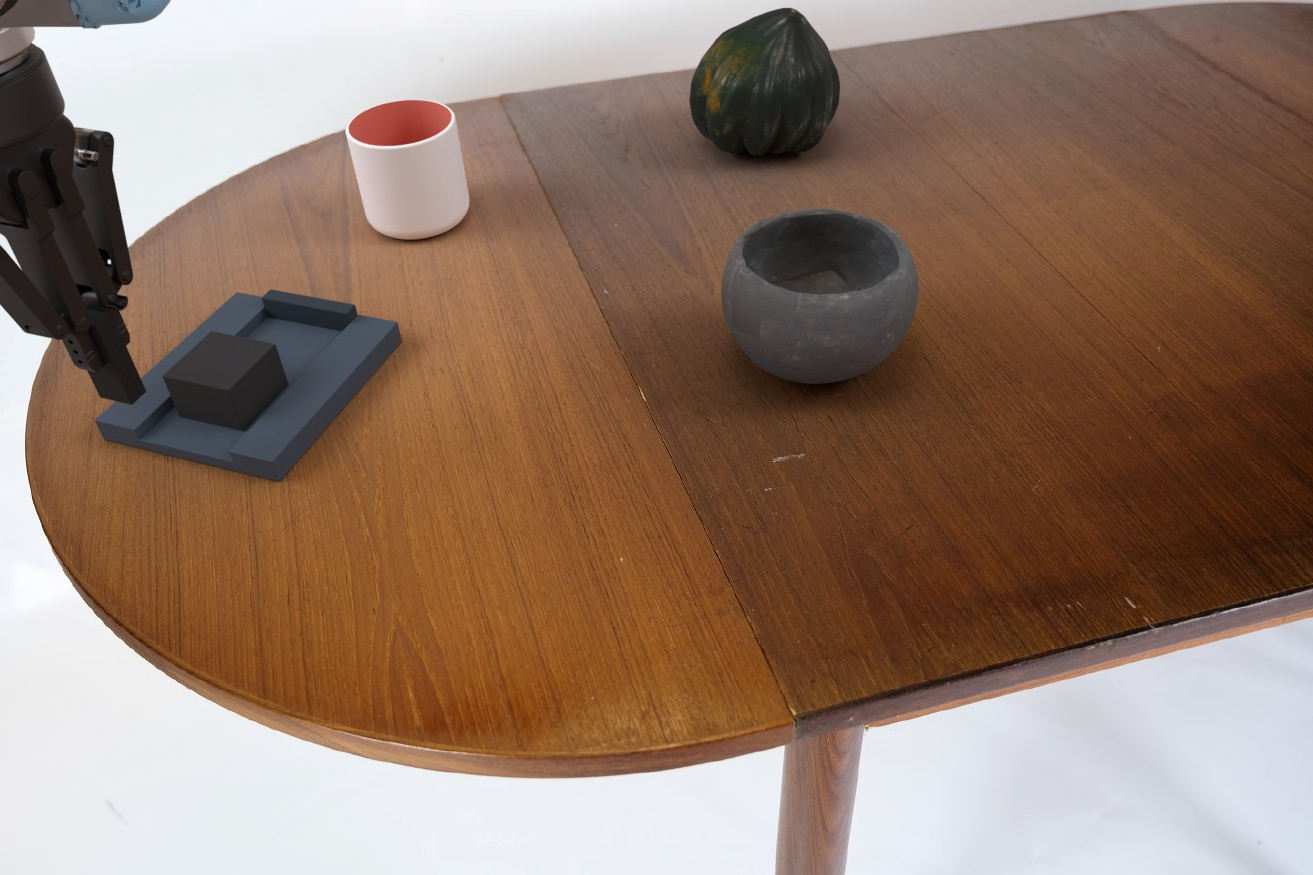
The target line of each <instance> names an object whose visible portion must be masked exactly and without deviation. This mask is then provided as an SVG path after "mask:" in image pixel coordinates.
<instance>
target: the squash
mask: <svg viewBox="0 0 1313 875" xmlns="http://www.w3.org/2000/svg"><path fill="white" fill-rule="evenodd" d="M689 92H690V93H689V109H690V114H691V118H692V121H693V124H694V125H695V127H696V129H697V131H699V133H700V134H701V135H702V136H703V137H704V138H705V139H707V140H708V141H709V142H712V143H713V144H714V145H715V147H717V149H719V150H720V151H721V152H725V153H728V154H732V155H733V154H740V153H743V152H745V151H747V152H748V153H749V154H750V155H752V156H763V155H765V154H766V153H767V152H769V153H770V154H782V153H785V152H787V153H804V152H807V151H810V150H812V149H813V148H815V147H816V146H817V145H818V144H819V143H820V142H821V141H822V139H823V137H824V135H825V133H826V130H827V128H828V126H829V125H830V123H831V122H832V120H833V119H834V117H835V115H836V112H837V110H838V107H839V104H840V96H841V82H840V76H839V71H838V68H837V67H836V65H835V63H834V61H833V59H832V56H831V53H830V50H829V46H828V45H827V44H826V42H825V40H824V39H823V37H821V35H820V34H819V33H818V31H817V30H816V29H815V28H814V27H813V25H812V24H811V23H810V22H809V20H808V19H807V17H806V16H805V15H804V14H802V13H801V12H800V11H799V10H798V9H795V8H793V7H781V8H776V9H773V10H769V11H766V12H764V13H763V12H762V13H761V14H758V15H756V16H753V17H751V18H749V19H747V20H745V21H743V22H741V23H740V24H737V25H735V26H732V27H730V28H728V29H726V30H725V31H723V32H721V34H719V36H717V38H716V39H715V40H714V41H713V43H712V44H711V45H710V46H709V47H708V49H707V51H706V52H704V54H703V56H702V57H701V58H700V61H699V63H698V65H697V67H696V69H695V71H694V73H693V75H692V78H691V82H690V91H689Z"/></svg>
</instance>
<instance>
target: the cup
mask: <svg viewBox="0 0 1313 875" xmlns="http://www.w3.org/2000/svg"><path fill="white" fill-rule="evenodd" d="M345 136H346V141H347V144H348V148H349V152H350V157H351V161H352V165H353V168H354V173H355V177H356V182H357V184H358V185H357V186H358V189H359V193H360V197H361V201H362V206H363V210H364V215H365V217H366V219H367V222H368V223H369V224H370V226H371V227H372V228H373V229H374V230H375V231H377V232H378V233H380V234H382V235H384V236H387V237H389V238H393V239H398V240H422V239H427V238H431V237H435V236H439V235H441V234H444V233H446V232H448V231H449V230H452V229H453V228H455V227H456V226H457V225H458V224H460V223H461V222H462V221H463V219H464V218H465V217H466V215H467V213H468V211H469V208H470V195H469V194H470V193H469V189H468V182H467V177H466V172H465V165H464V160H463V159H464V158H463V154H462V148H461V142H460V136H459V130H458V124H457V119H456V114H455V113H454V111H453V110H452V109H451V108H450V107H449V106H447V105H445V104H443V103H441V102H438V101H434V100H429V99H417V98H414V99H413V98H409V99H397V100H392V101H386V102H382V103H379V104H376V105H373V106H370V107H368V108H366V109H364V110H362V111H360V112H358V113H357V114H356V115H354V116H353V117H352V118H351V119H350V120H349V121H348V123H347V125H346V127H345Z"/></svg>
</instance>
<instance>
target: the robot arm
mask: <svg viewBox="0 0 1313 875" xmlns="http://www.w3.org/2000/svg"><path fill="white" fill-rule="evenodd" d="M171 1H172V0H0V235H2V236H3V237H4V238H5V239H6V241H7V244H8V246H9V247H10V249H11V251H12V253H13V255H14V257H15V259H13V258H12V256H11V255H10V254H9V253H8V252H7V251H6V249H5V248H4V247H3V246H2V244H0V306H1V307H2V309H3V310H4V311H5V312H6V313H7V314H8V315H9V317H10V318H11V319H12V320H13V321H14V322H15V323H16V324H17V326H18V327H19V328H20V329H21V330H22V331H23V332H24V333H25V334H29V335H32V336H37V337H43V338H47V339H52V340H57V341H62V343H63V345H64V347H65V349H66V351H67V353H68V355H69V357H70V359H71V362H72V363H73V365H74V366H75V367H76V368H78V370H84V371H87V374H88V375H89V377H90V380H91V382H92V384H93V386H94V388H95V390H96V392H97V394H98V396H99V399H105V400H108V401H113V402H115V401H117V402H122V403H126V404H130V405H133V404H134V403H135V402H136V401H137V400H138V399H139V398H140V397H141V396H142V395H143V394H144V393H145V392H147V391H146V389H145V387H144V385H143V382H142V380H141V378H142V377H141V376H140V374H139V371H138V369H137V367H136V365H135V362H134V360H133V358H132V356H131V353H130V351H129V349H128V347H127V346H128V345H129V344H130V343H131V334H130V332H129V330H128V328H127V325H126V323H125V320H124V318H123V315H122V314H121V311H124V310H125V309H126V308H127V307H128V304H129V297H128V296H127V295H122V294H119V291H120V290H121V288H122V287H123V286H128V285H130V284H131V283H132V282H133V279H134V271H133V266H132V260H131V256H130V255H131V254H130V251H129V245H128V240H127V235H126V230H125V225H124V220H123V216H122V215H123V214H122V210H121V205H120V201H119V200H120V199H119V195H118V191H117V186H116V181H115V180H116V179H115V175H114V170H113V168H114V155H115V154H114V152H115V138H114V136H113V134H112V132H109V131H106V130H101V129H93V128H86V127H78V126H75V125H74V123H73V122H72V121H71V120H70V118H69V117H67V116H66V115H65V114H64V113H65V109H66V102H65V99H64V97H63V94H62V92H61V89H60V86H59V84H58V82H57V79H56V77H55V75H54V73H53V70H52V68H51V65H50V63H49V61H48V58H47V55H46V54H45V51H44V50H43V49H42V48H41V47H39V46H37V45H36V44H34V43H33V41H34V40H35V37H36V31H35V28H82V29H94V30H97V29H100V28H101V27H102V26H114V25H133V24H143V23H146V22H149V21H152V20H155V19H156V18H157V17H158V16H159V15H161V14H162V13H163V12H164V11H165V9H166V8H167V6H168V5H169V4H170V3H171ZM15 260H16V262H17V263H18V264H17V263H16V262H15ZM109 261H110V263H109Z"/></svg>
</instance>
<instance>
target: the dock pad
mask: <svg viewBox="0 0 1313 875" xmlns="http://www.w3.org/2000/svg"><path fill="white" fill-rule="evenodd" d="M211 331H213V332H218V333H223V334H228V335H233V336H238V337H243V338H248V339H253V340H258V341H263V342H268V343H273V344H276V347H277V350H278V353H279V356H280V359H281V362H282V365H283V369H284V372H285V375H286V378H287V381H288V385H287V386H286V388H285V389H284V390H283V391H282V392H281V393H280V394H279V395H278V396H277V397H276V398H275V399H274V400H273V401H272V402H271V403H270V404H269V405H268V406H267V408H266V409H265V410H264V411H263V412H262V413H261V414H260V415H259V416H258V417H257V418H256V419H255V420H254V421H253V422H252V423H251V424H250V425H249V426H248V428H247V429H246V430H245V431H241V430H236V429H232V428H227V427H223V426H219V425H214V424H210V423H205V422H201V421H197V420H192V419H188V418H183V417H180V416H179V415H178V412H177V410H176V407H175V405H174V403H173V400H172V398H171V396H170V393H169V391H168V388H167V386H166V384H165V381H164V379H163V375H164V374H165V373H166V372H167V371H168V370H170V369H171V368H172V367H173V366H174V365H175V364H176V363H177V362H178V361H179V360H180V359H181V358H183V357H184V356H185V355H186V354H187V353H188V352H189V351H190V350H191V349H192V348H193V347H195V346H196V345H197V344H198V343H199V342H200V341H201V340H202V339H203V338H204V337H205V336H207V335H208V334H209V333H210V332H211ZM400 331H401V330H400V326H399V322H398V321H393V320H390V319H384V318H378V317H372V316H368V315H363V314H358V310H357V306H356V304H353V303H348V302H342V301H338V300H332V299H326V298H320V297H315V296H309V295H304V294H298V293H294V292H288V291H283V290H276V289H271V288H270V289H269V290H268V291H267V292H266V293H264V295H263V296H260V295H254V294H249V293H244V292H239V291H237V292H235V293H234V294H232V296H231V297H230V298H229V299H227V300H226V301H225V302H224V303H223V304H221V306H219V307H218V308H217V309H216V310H215V311H214V312H212V313H211V314H210V316H207V318H206V319H205V320H204V321H202V322H201V323H200V324H199V325H198V327H196V328H195V329H194V330H193V331H192V332H190V333H189V334H188V335H187V336H186V337H184V339H182V341H181V342H179V343H178V344H177V345H176V346H175V347H173V349H172V350H170V352H168V353H167V354H166V355H165V356H164V357H163V358H161V359H160V360H159V361H158V362H157V363H156V364H155V365H154V366H153V367H151V368H150V369H149V370H148V371H147V372H146V373H145V374H143V376H141V377H140V378H141V380H142V382H143V385H144V387H145V389H146V391H147V392H145V393H144V394H143V395H142V396H141V397H140V398H139V399H138V400H137V401H136V402H135V403H134V404H133V405H130V404H126V403H122V402H117V401H113V403H112V404H110V406H108V408H106V409H105V410H104V411H103V412H102V413H101V414H99V415H98V416H97V417H96V418H95V419H94V423H95V424H96V426H97V428H98V430H99V432H100V435H101V436H102V437H101V438H102V439H103V440H104V441H108V442H111V443H117V444H120V445H124V446H128V447H132V448H137V449H141V450H145V451H149V452H153V453H158V454H162V455H166V456H170V457H175V458H179V459H183V460H186V461H187V460H188V461H191V462H195V463H198V464H203V465H208V466H212V467H216V468H220V469H224V470H229V471H232V472H237V473H240V474H245V475H250V476H252V477H253V476H254V477H256V478H257V477H258V478H262V479H265V480H270V481H275V482H278V483H279V482H281V481H282V480H283V479H284V477H285V476H286V475H287V474H288V473H289V472H290V470H291V469H292V468H293V467H294V466H295V465H296V464H297V462H298V461H299V460H300V459H301V458H302V457H303V455H305V453H306V452H307V451H308V450H309V448H311V446H312V445H313V444H315V442H316V441H317V440H318V438H319V437H320V436H321V435H322V434H323V433H324V432H325V430H327V428H329V426H330V425H331V424H332V422H333V421H334V420H335V419H336V418H337V417H338V415H339V414H340V413H341V412H342V411H343V410H344V408H345V407H346V406H347V405H348V404H349V403H350V401H352V399H353V398H354V397H355V396H356V395H357V393H359V391H360V390H361V389H362V388H363V387H364V386H365V384H366V383H367V382H368V381H369V380H370V378H372V376H373V375H374V374H375V373H376V372H377V370H378V369H380V368H381V366H382V365H383V364H384V363H385V362H386V360H387V359H388V358H389V357H390V356H391V354H393V352H394V351H395V350H396V349H397V348H398V346H399V345H400V344H401V343H402V342H403V339H402V336H401V332H400Z"/></svg>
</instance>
